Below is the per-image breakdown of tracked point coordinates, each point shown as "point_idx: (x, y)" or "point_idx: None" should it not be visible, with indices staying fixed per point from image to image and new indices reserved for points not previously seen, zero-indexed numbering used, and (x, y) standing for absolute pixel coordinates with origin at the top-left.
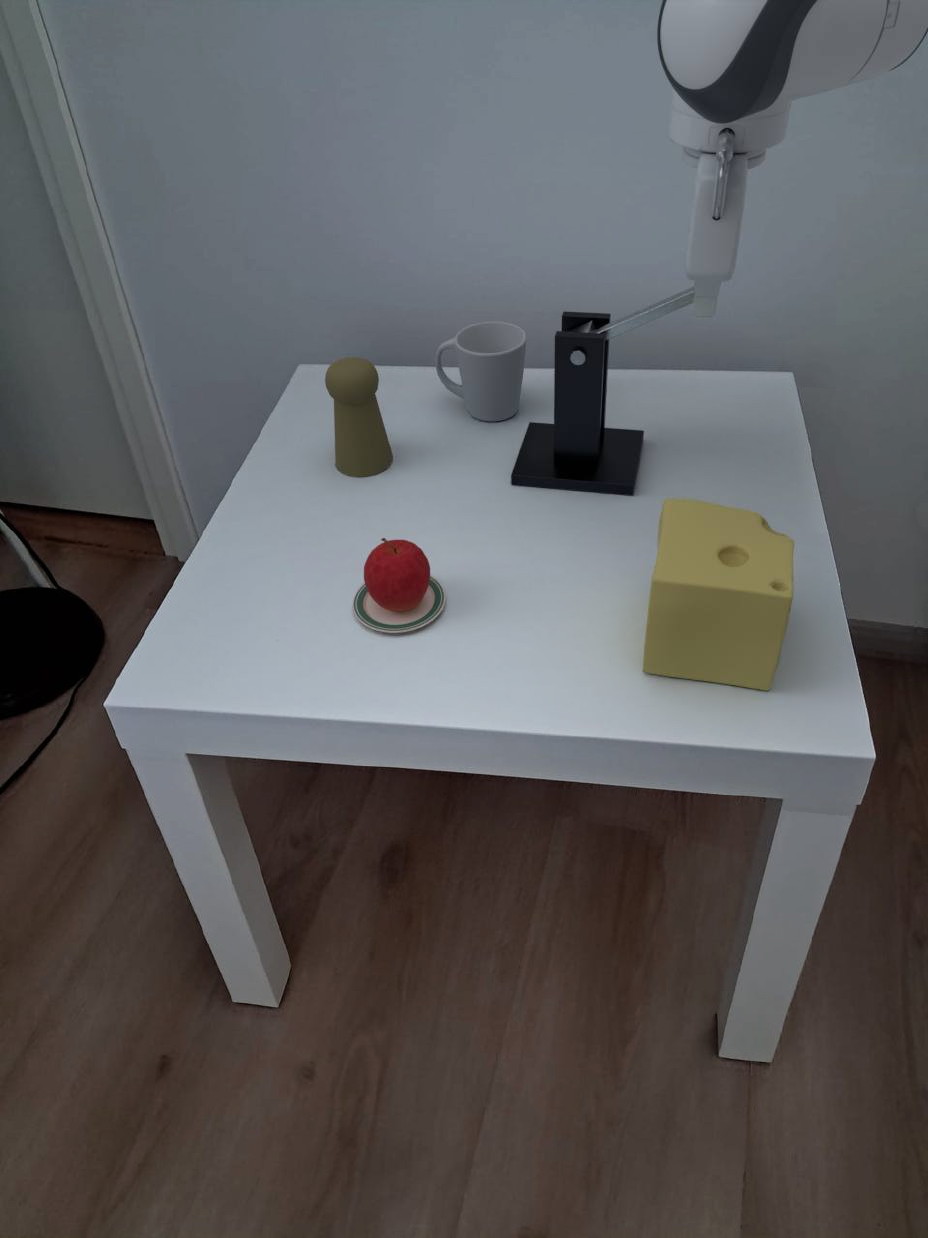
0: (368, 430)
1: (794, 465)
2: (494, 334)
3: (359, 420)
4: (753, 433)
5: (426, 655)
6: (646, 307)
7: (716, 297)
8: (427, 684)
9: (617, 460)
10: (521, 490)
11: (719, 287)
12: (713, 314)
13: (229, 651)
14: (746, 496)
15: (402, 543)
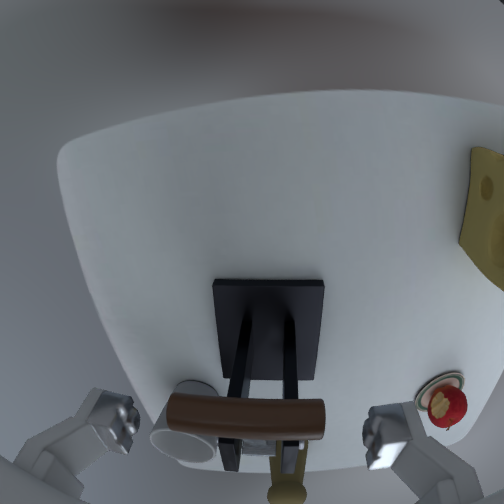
0: (301, 464)
1: (232, 108)
2: (158, 436)
3: (302, 473)
4: (171, 160)
5: (478, 365)
6: (247, 441)
7: (426, 435)
8: (495, 356)
9: (278, 305)
10: (320, 365)
11: (457, 456)
12: (413, 402)
13: (449, 429)
14: (309, 161)
15: (446, 420)
